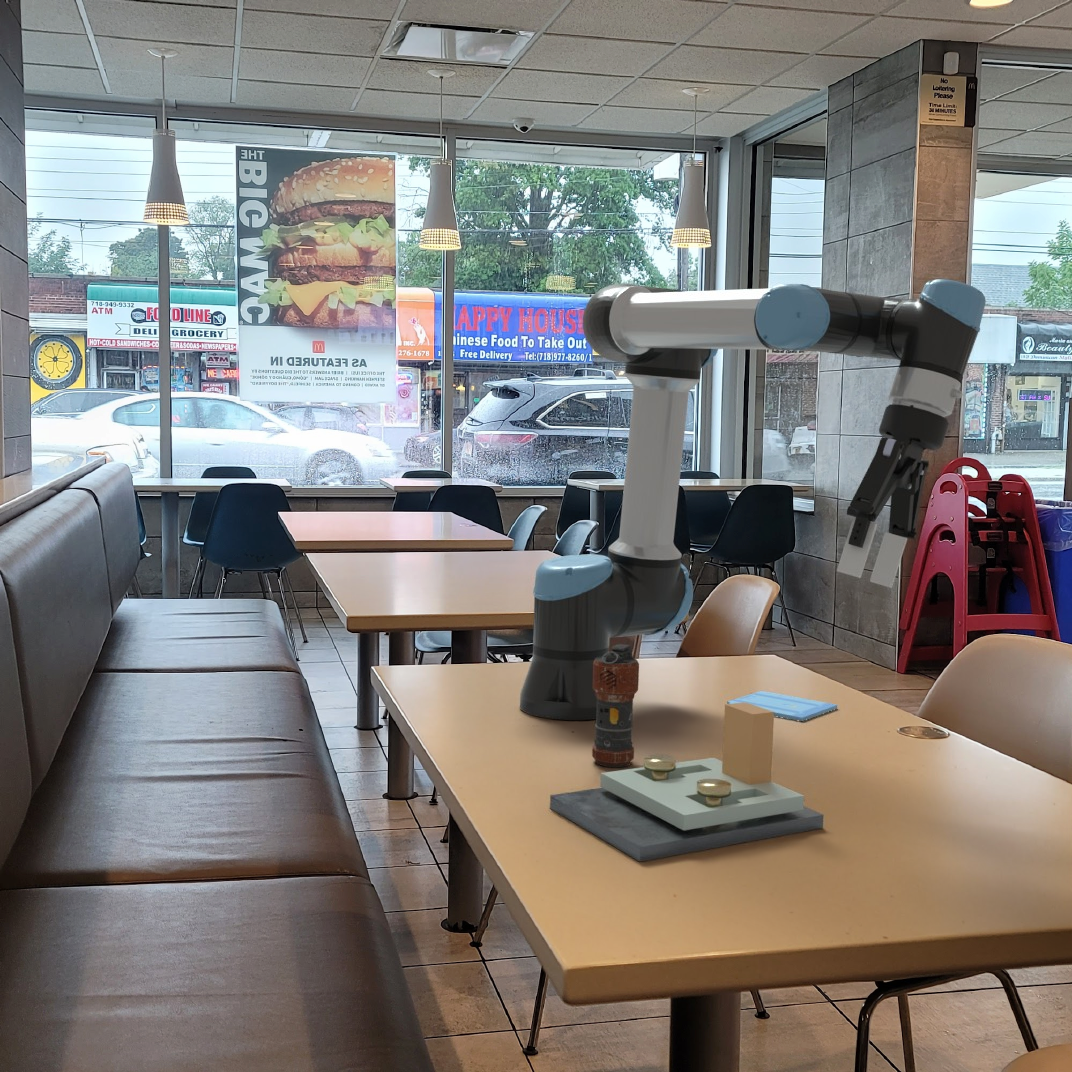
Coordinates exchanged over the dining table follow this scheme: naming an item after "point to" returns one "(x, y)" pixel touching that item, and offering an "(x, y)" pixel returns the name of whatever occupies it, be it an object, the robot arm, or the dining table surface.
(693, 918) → the dining table surface
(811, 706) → the light blue flat panel
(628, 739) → the grenade
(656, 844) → the mounting plate
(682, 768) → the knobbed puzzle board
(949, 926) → the dining table surface
